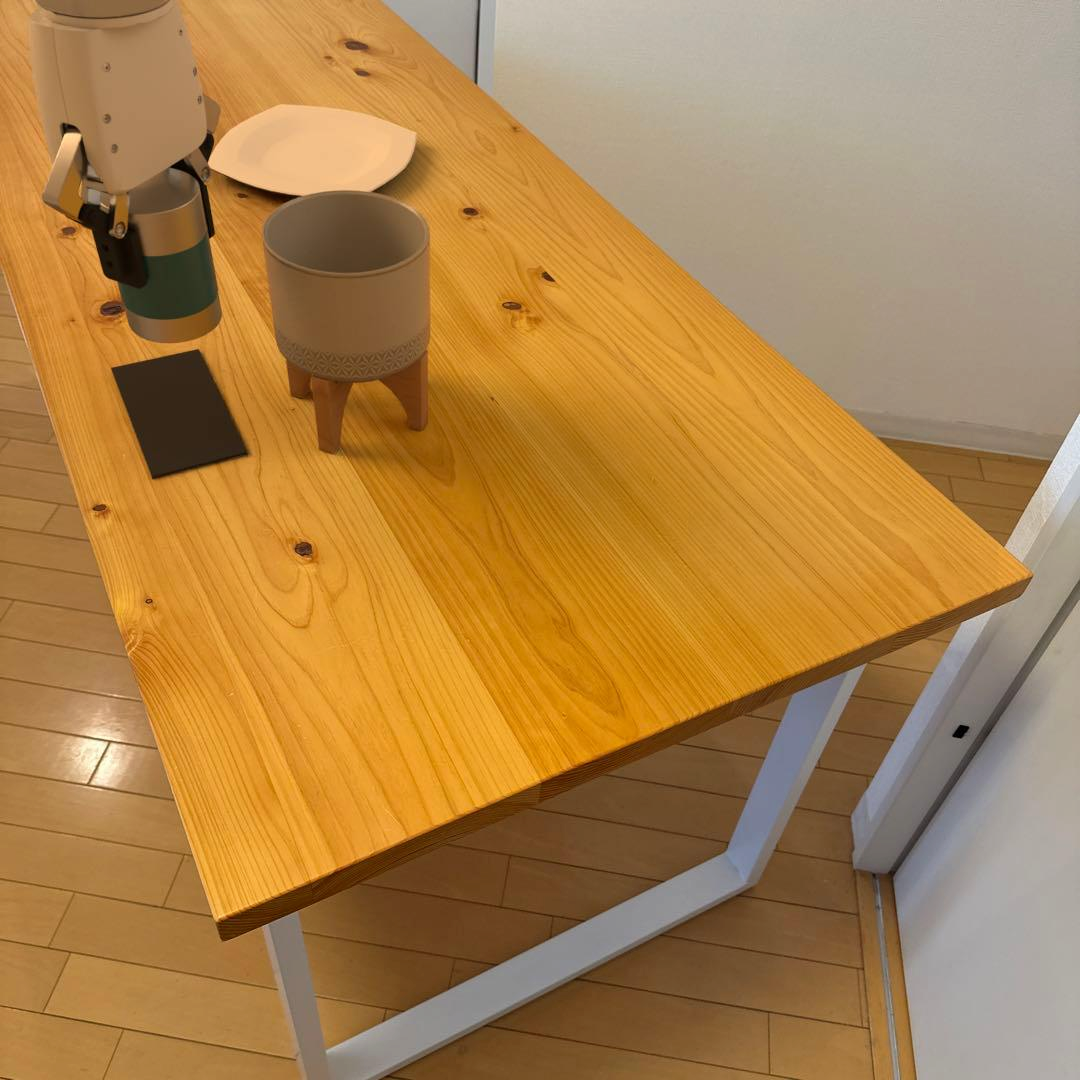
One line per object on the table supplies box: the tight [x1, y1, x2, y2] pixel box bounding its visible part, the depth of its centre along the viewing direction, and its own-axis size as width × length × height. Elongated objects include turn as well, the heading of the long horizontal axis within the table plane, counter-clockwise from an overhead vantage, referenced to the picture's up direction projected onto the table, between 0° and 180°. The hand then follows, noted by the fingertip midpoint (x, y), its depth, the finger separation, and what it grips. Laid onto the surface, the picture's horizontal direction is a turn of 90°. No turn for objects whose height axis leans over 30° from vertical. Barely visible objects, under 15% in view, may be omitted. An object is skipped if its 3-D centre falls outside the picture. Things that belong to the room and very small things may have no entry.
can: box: [100, 168, 223, 344], centre depth 70 cm, size 7×7×10 cm
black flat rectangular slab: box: [110, 348, 249, 480], centre depth 89 cm, size 16×8×1 cm, turn 28°
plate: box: [208, 103, 418, 198], centre depth 123 cm, size 23×23×2 cm
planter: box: [261, 190, 431, 455], centre depth 85 cm, size 13×13×18 cm
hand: (161, 254), depth 70 cm, fingers closed on can, 6 cm apart
